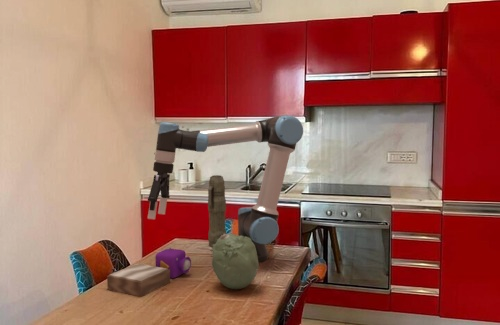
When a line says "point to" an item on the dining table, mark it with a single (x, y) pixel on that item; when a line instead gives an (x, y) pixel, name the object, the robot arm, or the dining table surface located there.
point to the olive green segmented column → (216, 208)
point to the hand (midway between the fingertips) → (156, 216)
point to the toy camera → (173, 261)
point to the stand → (138, 279)
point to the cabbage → (234, 260)
